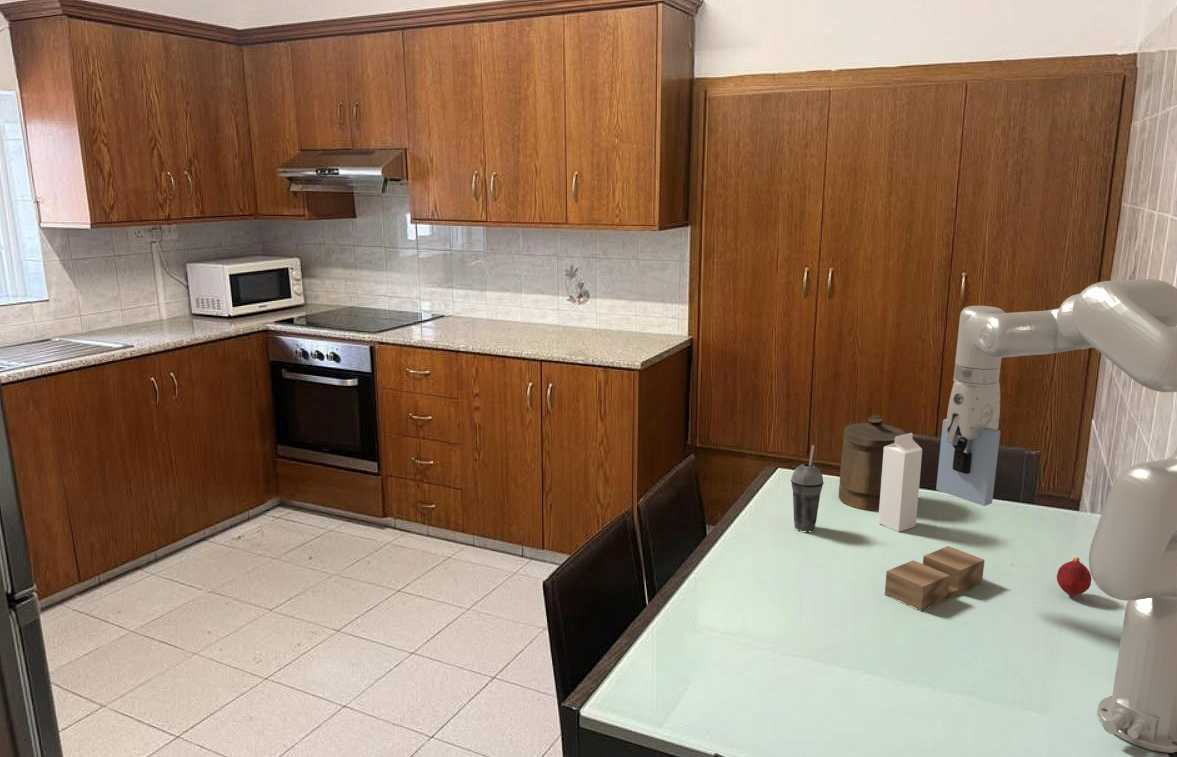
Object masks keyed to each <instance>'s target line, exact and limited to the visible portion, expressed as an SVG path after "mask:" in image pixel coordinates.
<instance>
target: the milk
mask: <svg viewBox="0 0 1177 757" xmlns="http://www.w3.org/2000/svg"><path fill="white" fill-rule="evenodd" d="M913 435H914V434H913V432H910V433H906V434H905V435H901V436H896V437H895V443H894V444H891V445H888V446H885V447H884V452H883V465H882V478H881V492H880V505H879V511H878V521H877V524H878V523H879V524H878V525H880V524H882V525H881V526H883V525H884V526H883V527H885V526H886V527H885V528H888V529H890V528H891V529H890V530H893V531H895V532H897V531H898V532H897V533H900V532H903V531H906V530H909V529H913V528H916V526H917V515H918V502H919V493H920V492H919V491H920V482H921V470H922V469H921V468H922V459H923V458H922V457H923V456H922V455H923V448H922V447H921V446H920V445H919V444H918V443H917V442H916V441H915V440H914V439H913Z"/></svg>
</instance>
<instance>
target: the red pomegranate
mask: <svg viewBox="0 0 1177 757" xmlns="http://www.w3.org/2000/svg"><path fill="white" fill-rule="evenodd" d="M1056 582H1057V583H1058V586H1059V587H1060V588H1061V590H1062V591H1063V592H1064V593H1066V594H1067V595H1068V596H1069V597H1076V596H1080V595H1082V594H1084V593H1085V592H1087V591H1088V590H1089V588H1091V586H1092V575H1091V572H1090V569H1089V568H1088V567H1087V566H1085V565H1084V564H1083V563H1082V562H1080V558H1079V557H1078V556H1074V557H1073V558H1072V560H1071V561H1068V562H1065V563H1064V564H1062V565H1061V566H1060V567H1058V570H1057V574H1056Z"/></svg>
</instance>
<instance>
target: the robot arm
mask: <svg viewBox="0 0 1177 757" xmlns="http://www.w3.org/2000/svg"><path fill="white" fill-rule="evenodd" d="M957 332H958V333H957V342H956V354H955V359H954V360H955V361H954V362H955V363H954V371H953V378H952V379H953V380H952V381H953V384H952V388H951V391H950V396H949V400H948V408H947V414H946V419H947V422H946V430H947V433H948V437H947V440H946V441H947V442H948V443H950V444H952V445H953V450H954V459H953V470H955V471H958V472H961V473H964V474H969V473H970V466H971V457H972V453H969V452H970V447H971V440H973V439H976V438H979V437H980V436H981V430H983V429H986V428H992V429H996V430H999V425H1000V424H999V423H1000V413H1001V386H1000V372H1001V363H1002V358H1013V357H1015V358H1016V357H1021V356H1037V355H1038V356H1039V355H1048V354H1056V353H1063V352H1069V351H1076V350H1087V349H1091V348H1095V350H1097V351H1098V352H1099V353H1100V354H1101V355H1102V356H1104V357H1105V358H1107V359H1108V360H1109V361H1110V362H1111V363H1113V364H1114V365H1115V366H1116V367H1118V368H1119V369H1120V370H1121V371H1122V372H1123V373H1125V374H1126V375H1127V376H1128V377H1129V378H1131V379H1132V380H1133V381H1134V382H1136V383H1137V384H1139V385H1141V386H1143V387H1144V388H1147V389H1148V390H1152V391H1155V392H1159V393H1177V287H1175V286H1174V285H1172V284H1171V283H1169V282H1166V281H1164V280H1159V279H1153V278H1140V279H1139V278H1138V279H1121V280H1120V279H1119V280H1118V279H1117V280H1105V281H1098V282H1095V283H1093V284H1090V285H1089V286H1087V287H1086V288H1084V289H1083V290H1081V292H1080V293H1076V294H1072V295H1070V296H1069V297H1067V298H1066V299H1065V300H1063V302H1062V303H1061V304H1060V307H1059V308H1054V309H1053V308H1052V309H1049V310H1034V311H1033V310H1031V311H1030V310H1029V311H1018V312H1006V311H1004V310H1003V309H1001V308H999V307H996V306H989V305H970V306H966V307H964V308H963V309H962V310H961V311H960V316H959V324H958V331H957ZM960 432H961V434H960ZM960 439H963V440H965V444H964V442H963V441H961V440H960ZM1107 495H1108V496H1107V498H1106V500H1105V502H1104V506H1103V509H1102V511H1101V515H1100V518H1099V521H1098V523H1097V526H1096V529H1095V532H1094V534H1093V537H1092V541H1091V544H1090V548H1089V552H1088V554H1089V555H1088V566H1089V572H1090V574H1091V579H1092V580H1093V581H1094V583H1095V585H1096V586H1097V587H1098V588H1099V590H1101V591H1102V592H1103V593H1104V594H1106V595H1107V596H1108V597H1110V598H1114V599H1116V600H1120V601H1127V603H1126V606H1125V611H1124V617H1123V623H1122V627H1121V628H1122V629H1121V634H1120V635H1121V637H1120V643H1119V650H1118V655H1117V662H1116V668H1115V670H1116V671H1115V676H1114V682H1113V690H1112V695H1109V696H1107V697H1104V698H1103V699H1101V700H1100V702H1099V703H1098V707H1097V716H1098V718H1099V721H1101V723H1102V728H1103V730H1104V731H1105V732H1106V733H1108V734H1109V735H1115V736H1117V737H1119V738H1120V739H1121V740H1124V741H1126V742H1128V743H1130V744H1132V745H1135V746H1138V747H1141V748H1144V749H1147V750H1151V751H1155V752H1159V753H1160V752H1161V753H1166V754H1167V753H1168V754H1175V753H1174V752H1177V447H1176V448H1175V451H1174V452H1173V453H1172V455H1171V456H1169V457H1167V458H1164V459H1163V460H1162V459H1161V460H1154V461H1153V460H1152V461H1147V462H1141V463H1138V464H1135V465H1132V466H1130V467H1128V468H1126V470H1124V471H1123V472H1121V474H1120V475H1119V476H1118V477H1117V478H1116V479H1115V480H1114V482H1113V484H1112V485H1111V487H1110V489H1109V492H1108V494H1107Z"/></svg>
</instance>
